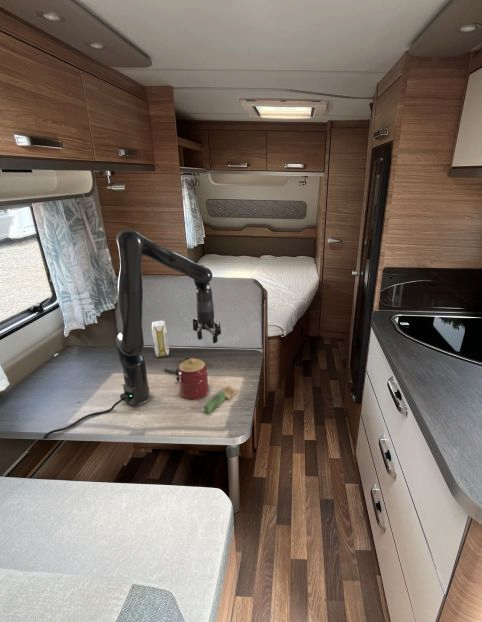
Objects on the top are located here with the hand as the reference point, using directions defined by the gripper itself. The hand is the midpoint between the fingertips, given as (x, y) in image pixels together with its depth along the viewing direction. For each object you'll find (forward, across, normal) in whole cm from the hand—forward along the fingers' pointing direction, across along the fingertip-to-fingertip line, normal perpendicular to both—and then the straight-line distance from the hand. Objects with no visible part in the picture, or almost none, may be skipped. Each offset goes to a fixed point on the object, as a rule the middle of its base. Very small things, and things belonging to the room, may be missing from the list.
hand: (207, 341), depth 159 cm
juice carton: (+22, -41, +10) cm, 48 cm away
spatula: (+22, +14, -12) cm, 29 cm away
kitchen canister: (+22, -1, -11) cm, 25 cm away
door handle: (+22, -18, +1) cm, 29 cm away
